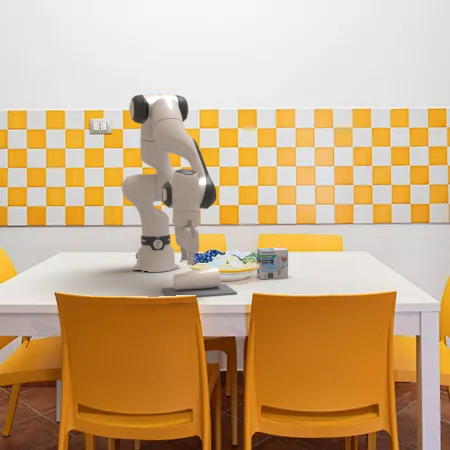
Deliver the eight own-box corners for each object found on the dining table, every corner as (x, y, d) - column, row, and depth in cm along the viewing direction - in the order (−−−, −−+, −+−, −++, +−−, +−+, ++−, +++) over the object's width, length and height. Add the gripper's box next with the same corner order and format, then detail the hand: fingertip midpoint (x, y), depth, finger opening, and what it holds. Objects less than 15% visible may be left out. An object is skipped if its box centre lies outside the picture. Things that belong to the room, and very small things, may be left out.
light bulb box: (261, 279, 191) (260, 250, 190) (256, 276, 197) (256, 248, 196) (289, 278, 193) (288, 249, 192) (283, 274, 199) (283, 246, 198)
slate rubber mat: (162, 290, 175) (161, 288, 175) (225, 285, 181) (225, 283, 181) (169, 299, 161) (169, 297, 161) (236, 294, 167) (236, 292, 167)
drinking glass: (175, 272, 168) (219, 266, 172) (171, 272, 174) (214, 266, 178) (177, 293, 167) (222, 287, 172) (173, 292, 174) (216, 286, 178)
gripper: (203, 222, 159) (204, 267, 160) (189, 217, 178) (190, 257, 180) (183, 223, 157) (184, 268, 158) (171, 218, 177) (172, 258, 178)
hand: (187, 262), depth 169 cm, fingers open, 8 cm apart
